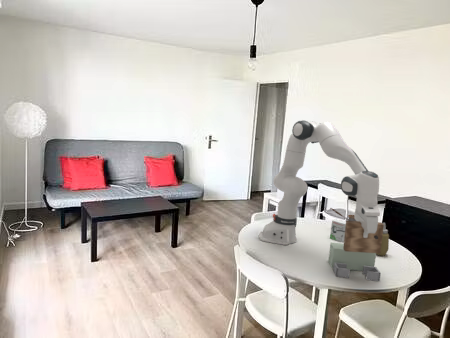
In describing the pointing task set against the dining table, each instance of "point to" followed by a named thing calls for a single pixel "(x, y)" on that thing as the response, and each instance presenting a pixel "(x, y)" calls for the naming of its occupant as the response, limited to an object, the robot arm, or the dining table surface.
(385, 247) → the squeeze bottle
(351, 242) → the brown wooden block
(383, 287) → the dining table surface
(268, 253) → the dining table surface
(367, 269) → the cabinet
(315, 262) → the dining table surface
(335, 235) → the ink box
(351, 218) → the coffee pot
